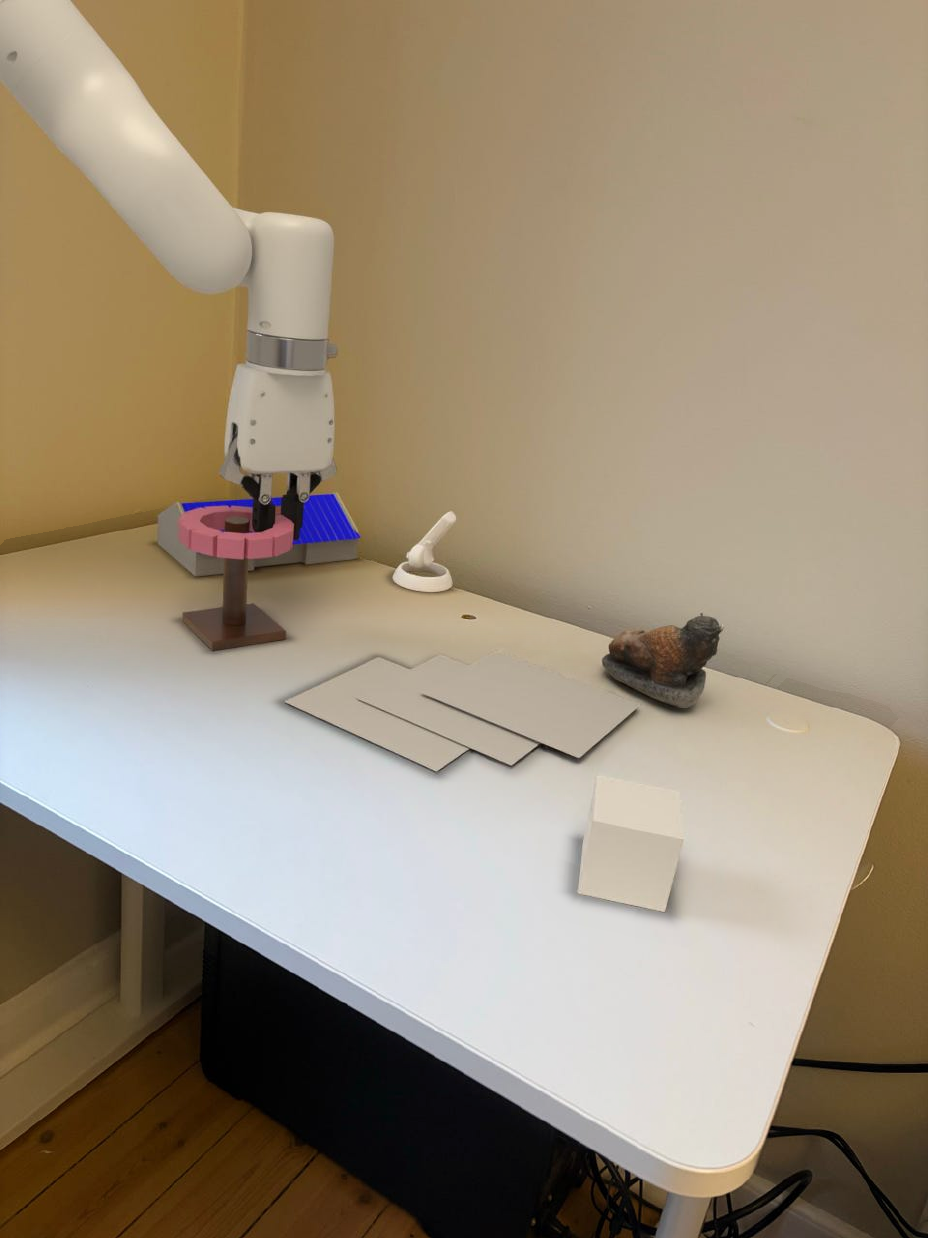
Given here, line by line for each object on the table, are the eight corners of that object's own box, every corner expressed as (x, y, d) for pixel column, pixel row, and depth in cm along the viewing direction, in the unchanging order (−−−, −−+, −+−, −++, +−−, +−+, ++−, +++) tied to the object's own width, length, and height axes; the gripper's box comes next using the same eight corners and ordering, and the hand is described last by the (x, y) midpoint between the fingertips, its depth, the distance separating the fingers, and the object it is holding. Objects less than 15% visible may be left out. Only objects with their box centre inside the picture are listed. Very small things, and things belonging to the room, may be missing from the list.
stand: (212, 651, 91) (214, 535, 86) (182, 620, 96) (183, 510, 92) (285, 639, 95) (292, 528, 91) (253, 611, 101) (257, 506, 97)
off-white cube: (582, 843, 69) (596, 774, 66) (662, 860, 68) (680, 791, 66) (577, 894, 63) (592, 820, 61) (665, 912, 62) (683, 839, 60)
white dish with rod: (475, 567, 108) (430, 526, 107) (419, 622, 115) (378, 584, 115) (496, 539, 114) (454, 500, 113) (442, 593, 121) (402, 557, 121)
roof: (197, 578, 108) (198, 518, 105) (155, 542, 118) (155, 486, 115) (359, 560, 121) (364, 506, 118) (309, 528, 131) (312, 478, 128)
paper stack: (524, 812, 71) (525, 804, 71) (284, 702, 83) (284, 695, 82) (639, 710, 90) (641, 704, 90) (430, 632, 101) (431, 626, 101)
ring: (205, 563, 85) (205, 543, 84) (163, 527, 93) (163, 508, 92) (311, 553, 92) (312, 534, 91) (263, 520, 99) (264, 502, 99)
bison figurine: (586, 676, 96) (603, 586, 92) (629, 663, 101) (647, 577, 97) (679, 726, 88) (702, 630, 84) (720, 709, 93) (744, 618, 89)
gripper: (340, 351, 95) (327, 521, 102) (190, 343, 86) (187, 531, 93) (378, 363, 90) (362, 542, 97) (222, 357, 81) (217, 555, 87)
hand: (276, 535), depth 95 cm, fingers closed on ring, 2 cm apart
